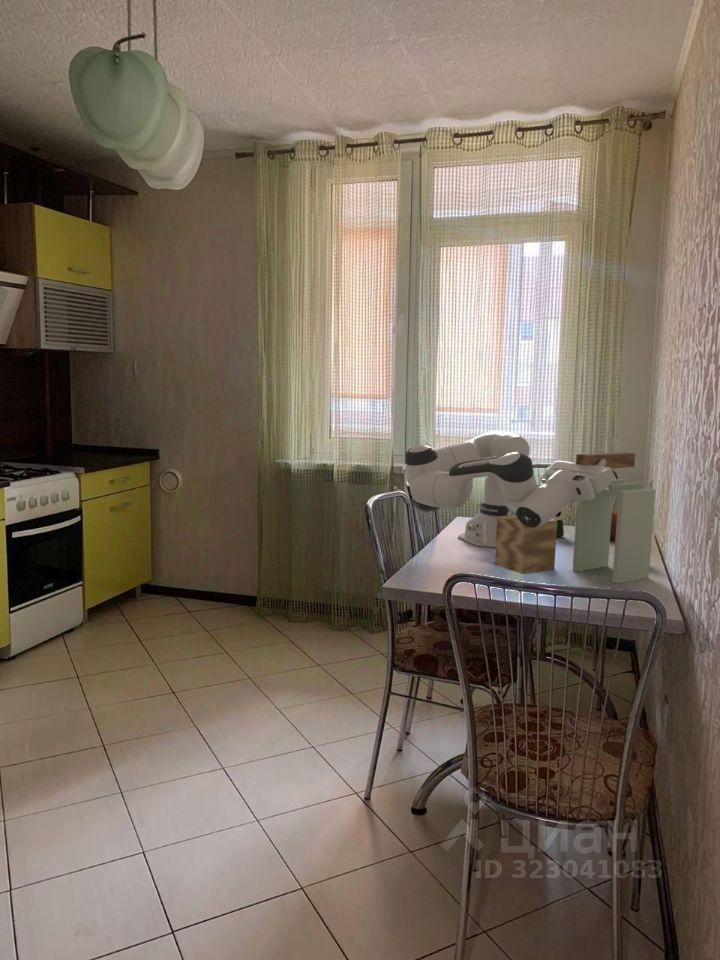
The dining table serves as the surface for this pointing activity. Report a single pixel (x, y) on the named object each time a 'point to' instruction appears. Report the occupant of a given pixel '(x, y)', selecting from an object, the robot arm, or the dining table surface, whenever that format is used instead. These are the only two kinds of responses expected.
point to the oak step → (525, 545)
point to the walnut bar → (607, 459)
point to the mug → (613, 525)
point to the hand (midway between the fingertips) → (595, 459)
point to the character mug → (559, 518)
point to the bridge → (629, 531)
